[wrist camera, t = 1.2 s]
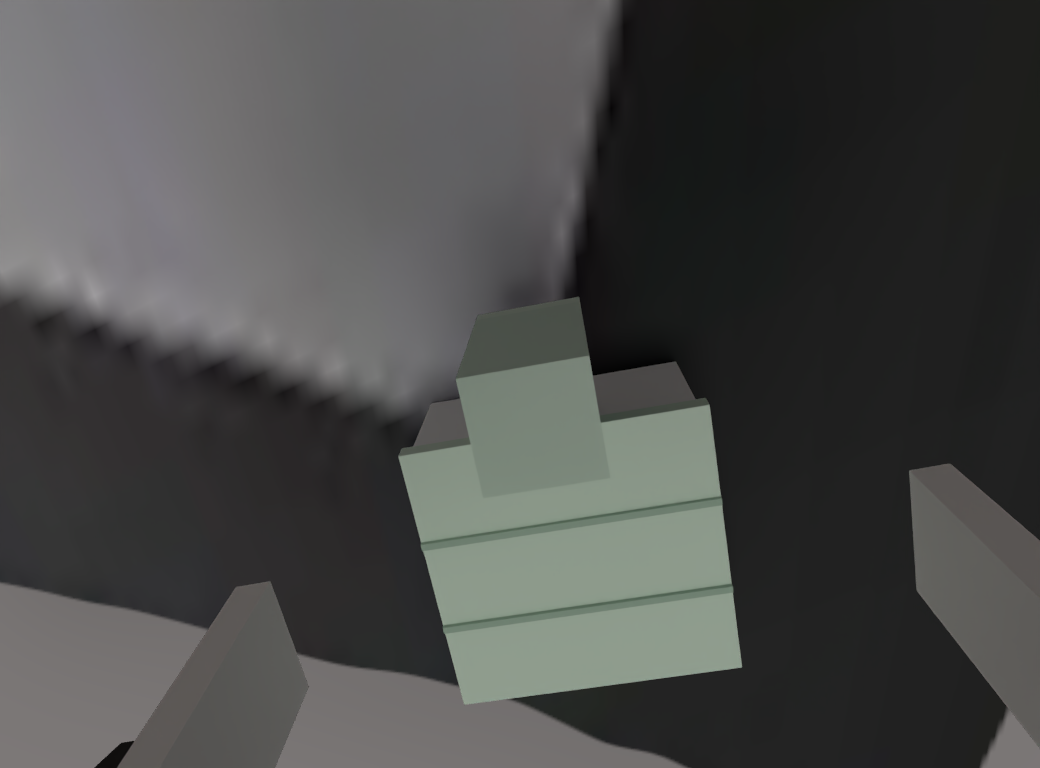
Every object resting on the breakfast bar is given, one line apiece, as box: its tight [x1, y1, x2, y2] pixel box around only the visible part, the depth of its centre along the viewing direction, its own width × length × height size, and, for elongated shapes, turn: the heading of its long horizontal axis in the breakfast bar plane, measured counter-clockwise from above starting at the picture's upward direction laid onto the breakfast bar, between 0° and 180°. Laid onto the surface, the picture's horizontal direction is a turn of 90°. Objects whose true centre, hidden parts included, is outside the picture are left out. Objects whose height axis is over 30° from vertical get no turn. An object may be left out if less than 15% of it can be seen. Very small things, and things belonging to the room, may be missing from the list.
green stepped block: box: [398, 297, 742, 704], centre depth 29 cm, size 18×13×8 cm
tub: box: [413, 361, 695, 447], centre depth 37 cm, size 12×12×6 cm
